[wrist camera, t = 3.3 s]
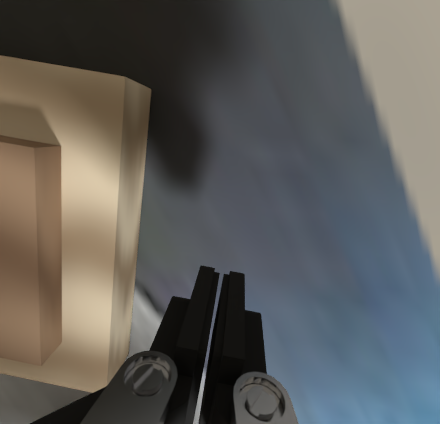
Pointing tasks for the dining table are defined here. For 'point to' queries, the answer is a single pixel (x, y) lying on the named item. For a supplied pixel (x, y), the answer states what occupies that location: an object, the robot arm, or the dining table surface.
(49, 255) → the tile
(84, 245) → the light wooden block
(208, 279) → the robot arm
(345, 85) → the dining table surface
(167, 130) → the dining table surface
